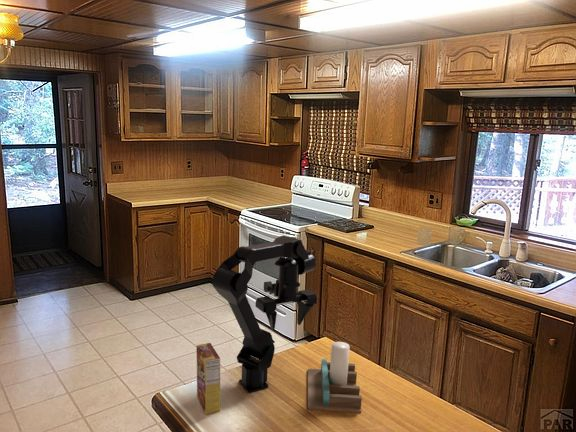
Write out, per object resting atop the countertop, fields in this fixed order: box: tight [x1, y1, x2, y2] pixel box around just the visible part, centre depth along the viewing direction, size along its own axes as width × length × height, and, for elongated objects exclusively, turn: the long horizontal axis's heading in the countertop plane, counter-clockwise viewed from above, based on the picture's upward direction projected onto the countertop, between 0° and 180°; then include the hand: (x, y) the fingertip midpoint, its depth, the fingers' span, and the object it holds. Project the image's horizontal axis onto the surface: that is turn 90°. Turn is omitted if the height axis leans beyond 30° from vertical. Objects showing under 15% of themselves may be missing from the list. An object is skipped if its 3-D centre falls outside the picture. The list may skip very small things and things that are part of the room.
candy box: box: [196, 342, 221, 415], centre depth 122 cm, size 9×4×15 cm, turn 25°
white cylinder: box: [329, 341, 351, 385], centre depth 131 cm, size 5×5×13 cm
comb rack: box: [307, 358, 363, 414], centre depth 132 cm, size 20×14×5 cm
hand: (285, 327), depth 142 cm, fingers open, 9 cm apart
